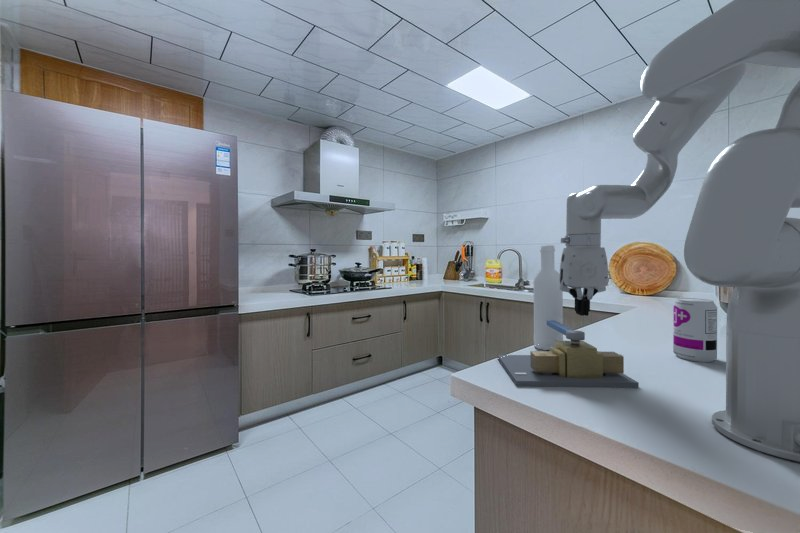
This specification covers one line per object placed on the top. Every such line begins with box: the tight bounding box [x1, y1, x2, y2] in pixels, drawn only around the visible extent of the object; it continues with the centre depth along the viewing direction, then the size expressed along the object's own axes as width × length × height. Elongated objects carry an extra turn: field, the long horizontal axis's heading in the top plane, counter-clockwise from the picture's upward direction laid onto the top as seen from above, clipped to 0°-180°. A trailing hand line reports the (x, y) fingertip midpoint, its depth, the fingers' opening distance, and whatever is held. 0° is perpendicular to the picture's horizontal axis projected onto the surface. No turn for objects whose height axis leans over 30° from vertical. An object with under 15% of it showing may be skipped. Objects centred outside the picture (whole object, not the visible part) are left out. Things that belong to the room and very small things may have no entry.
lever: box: [547, 321, 586, 341], centre depth 76 cm, size 16×4×1 cm, turn 175°
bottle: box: [532, 244, 564, 351], centre depth 93 cm, size 8×8×30 cm
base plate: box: [496, 354, 640, 389], centre depth 74 cm, size 18×24×1 cm
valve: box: [529, 340, 625, 378], centre depth 70 cm, size 6×18×8 cm, turn 85°
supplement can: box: [672, 297, 718, 363], centre depth 82 cm, size 8×8×15 cm
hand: (582, 314), depth 81 cm, fingers closed
